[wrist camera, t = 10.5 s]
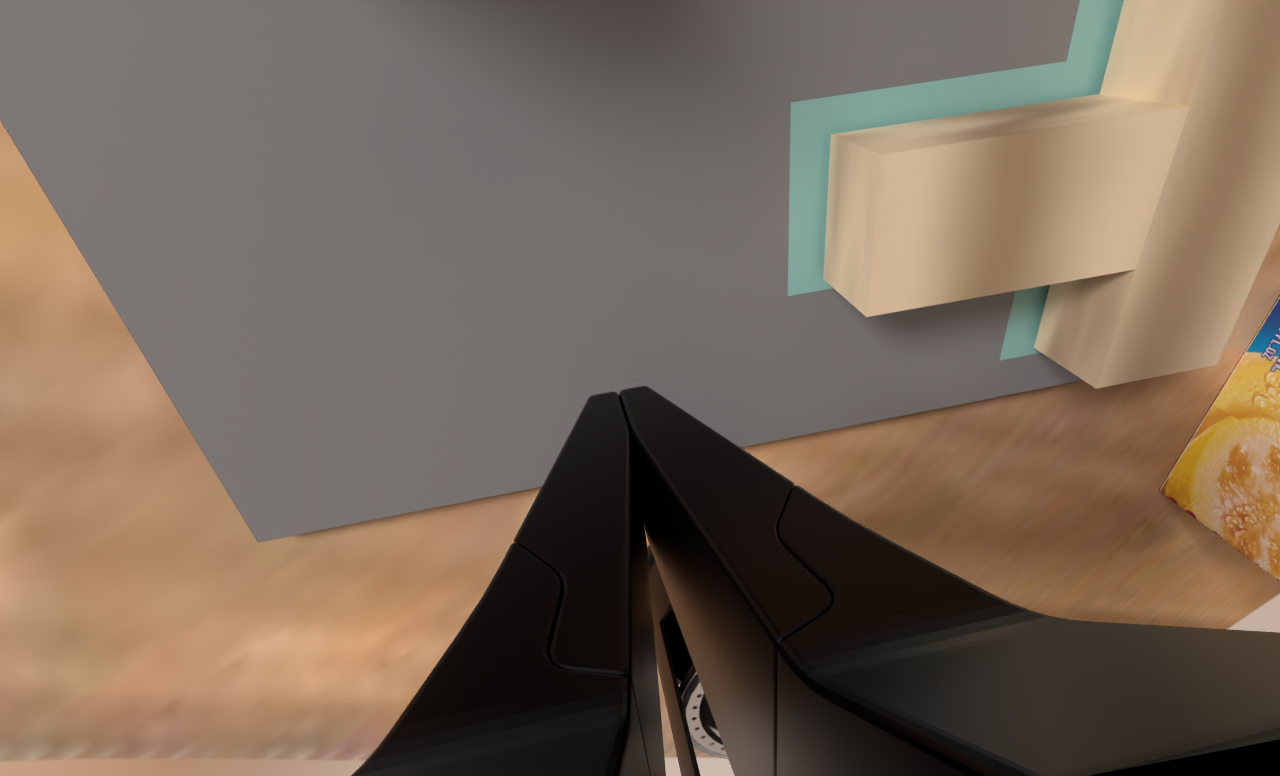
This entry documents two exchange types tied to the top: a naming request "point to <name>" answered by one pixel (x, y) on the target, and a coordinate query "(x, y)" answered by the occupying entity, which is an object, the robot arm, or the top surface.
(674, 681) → the french press
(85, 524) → the top surface
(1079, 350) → the maple T-block
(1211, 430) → the beverage box
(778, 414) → the board
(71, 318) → the top surface
